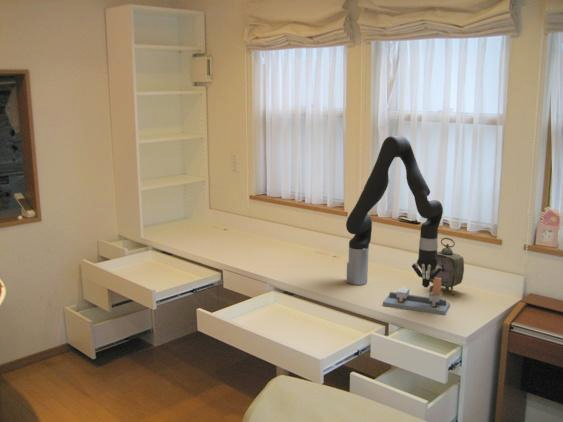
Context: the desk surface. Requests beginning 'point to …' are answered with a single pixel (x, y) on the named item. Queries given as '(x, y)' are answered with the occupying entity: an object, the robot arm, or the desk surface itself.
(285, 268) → the desk surface
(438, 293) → the sliding leg
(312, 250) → the desk surface
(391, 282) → the desk surface
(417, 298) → the hole plate with beam
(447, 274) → the tabletop clock
